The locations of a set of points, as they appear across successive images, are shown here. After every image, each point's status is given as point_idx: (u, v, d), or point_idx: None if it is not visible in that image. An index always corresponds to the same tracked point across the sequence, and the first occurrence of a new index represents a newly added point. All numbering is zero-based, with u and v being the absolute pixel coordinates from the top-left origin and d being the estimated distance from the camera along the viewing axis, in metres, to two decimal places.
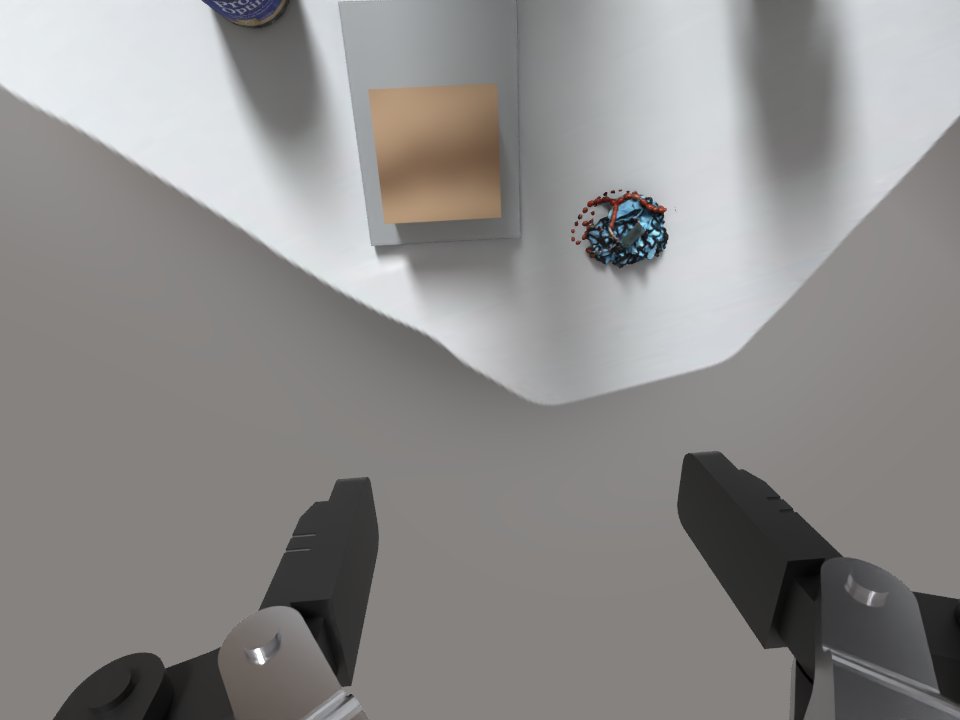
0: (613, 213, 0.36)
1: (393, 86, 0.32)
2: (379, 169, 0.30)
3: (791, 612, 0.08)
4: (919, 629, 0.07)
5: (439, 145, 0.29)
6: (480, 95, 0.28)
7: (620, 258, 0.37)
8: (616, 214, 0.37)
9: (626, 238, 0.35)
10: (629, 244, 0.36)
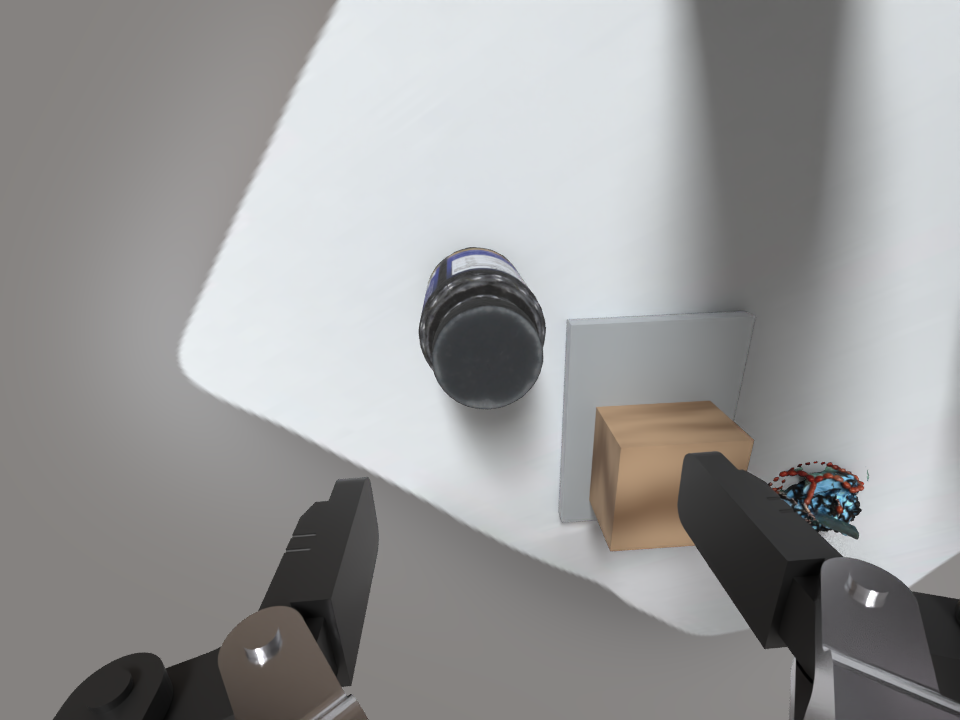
0: (811, 491, 0.35)
1: (612, 393, 0.31)
2: (616, 509, 0.28)
3: (791, 612, 0.08)
4: (919, 629, 0.07)
5: None
6: (734, 450, 0.27)
7: None
8: (813, 490, 0.35)
9: (830, 525, 0.34)
10: None
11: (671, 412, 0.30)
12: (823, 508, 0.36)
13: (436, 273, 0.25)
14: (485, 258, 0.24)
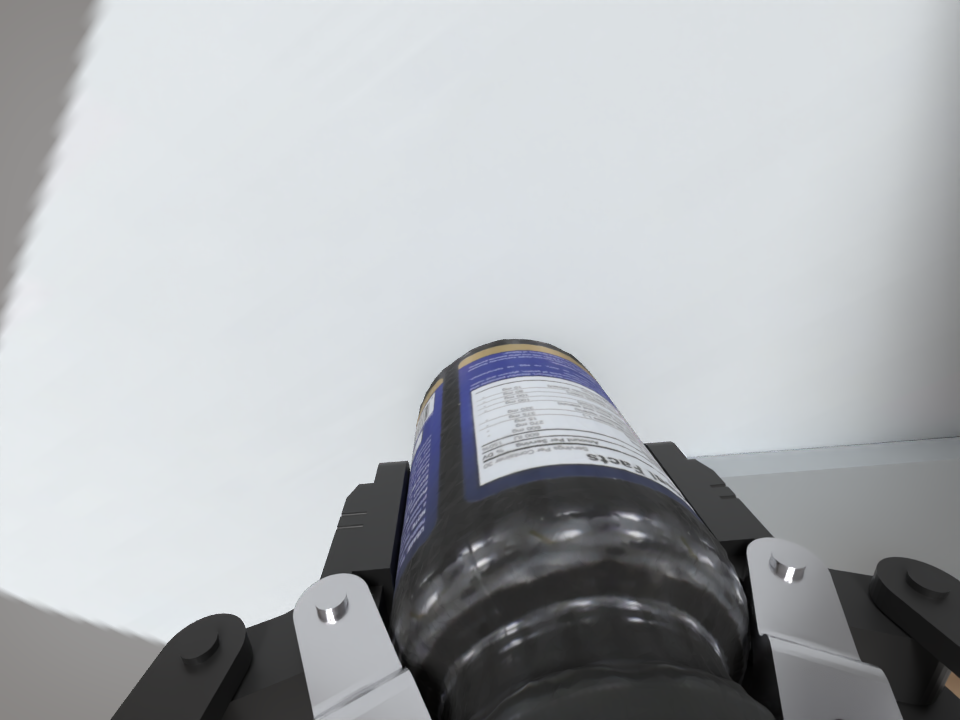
0: None
1: None
2: None
3: None
4: (828, 600, 0.07)
5: None
6: None
7: None
8: None
9: None
10: None
11: None
12: None
13: (436, 414, 0.11)
14: (553, 395, 0.10)
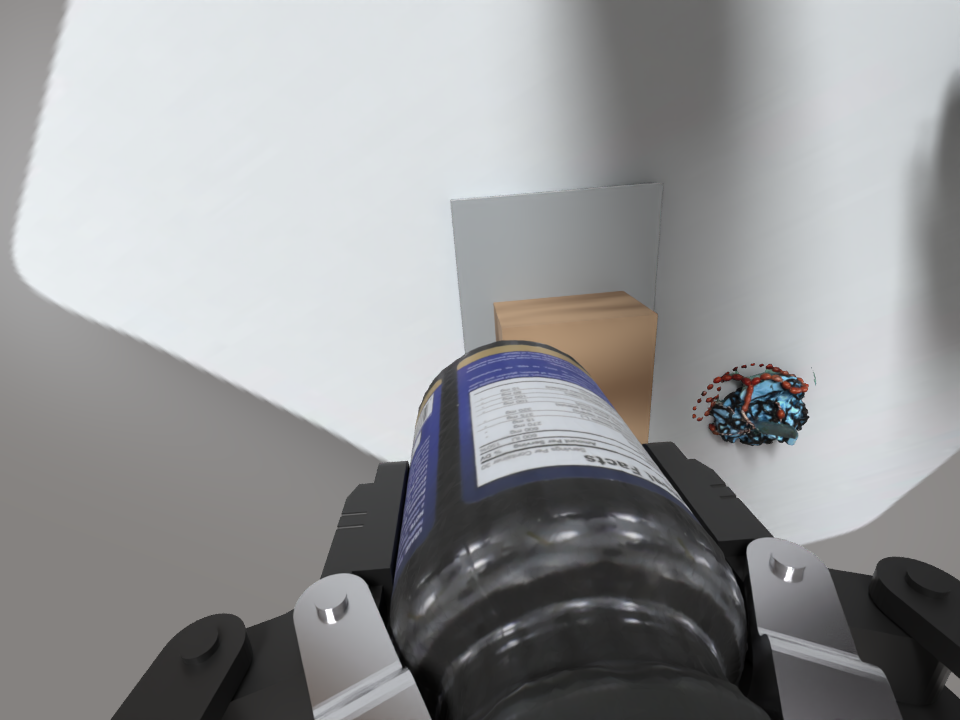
0: (747, 395, 0.31)
1: (510, 285, 0.27)
2: None
3: None
4: (827, 601, 0.07)
5: None
6: (636, 327, 0.23)
7: (753, 441, 0.32)
8: (750, 395, 0.31)
9: (769, 431, 0.30)
10: (769, 434, 0.31)
11: (575, 301, 0.26)
12: (764, 416, 0.32)
13: (434, 415, 0.11)
14: (551, 396, 0.10)
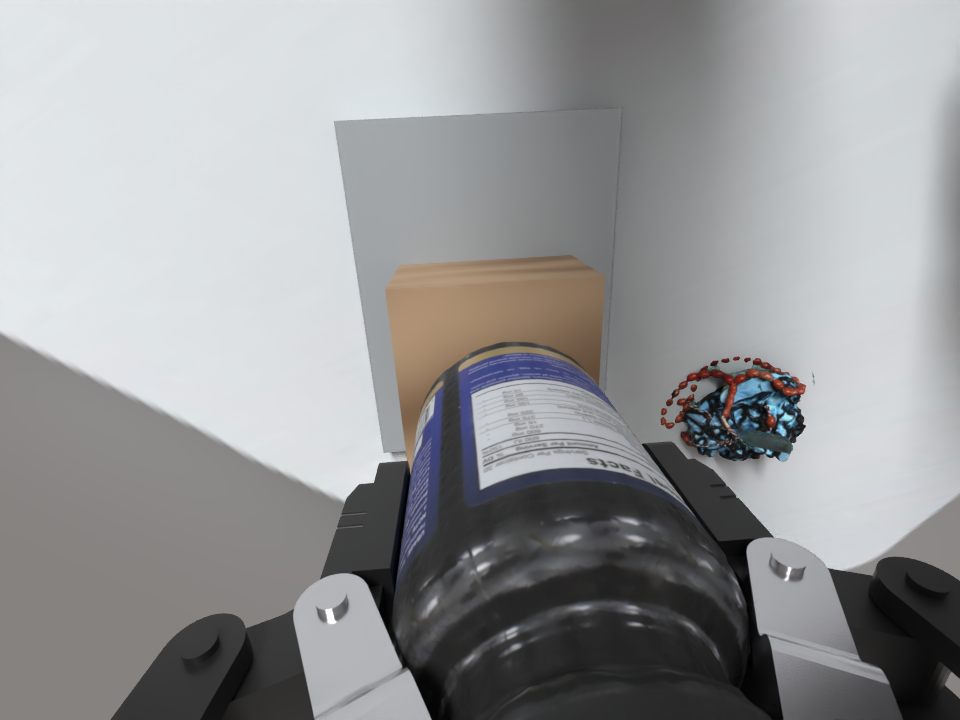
0: (729, 397, 0.24)
1: (421, 242, 0.21)
2: (402, 402, 0.18)
3: None
4: (827, 600, 0.07)
5: None
6: (576, 294, 0.17)
7: (735, 455, 0.25)
8: (733, 396, 0.25)
9: (755, 443, 0.23)
10: (756, 446, 0.24)
11: (503, 264, 0.20)
12: (749, 424, 0.25)
13: (436, 417, 0.11)
14: (553, 398, 0.10)
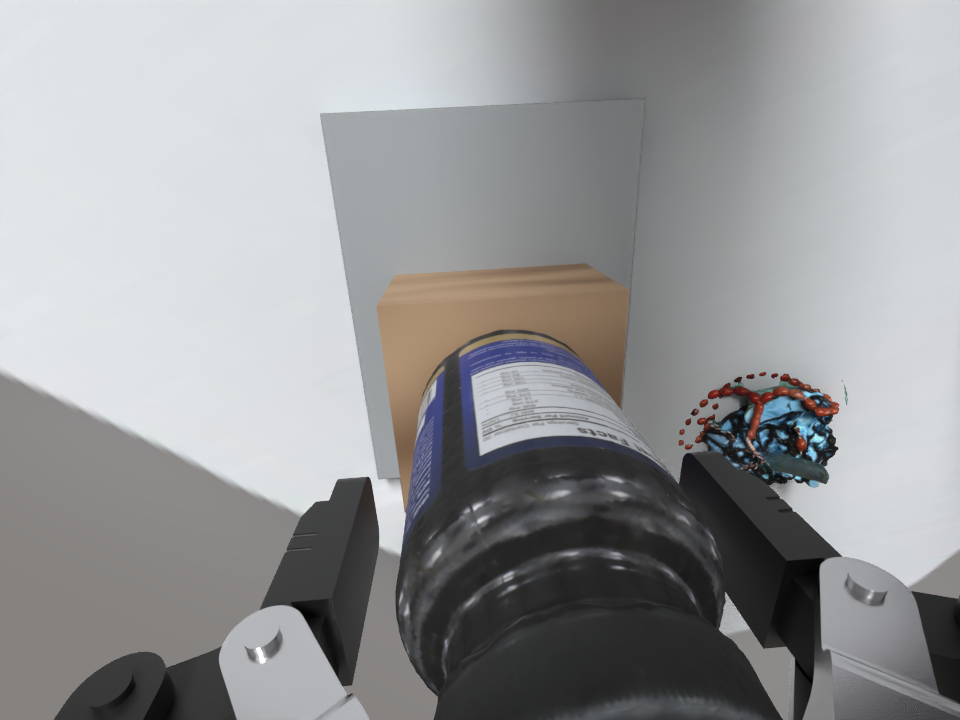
0: (755, 417, 0.22)
1: (418, 250, 0.18)
2: (396, 433, 0.16)
3: (790, 612, 0.08)
4: (918, 628, 0.07)
5: None
6: (596, 311, 0.15)
7: None
8: (759, 416, 0.22)
9: (785, 469, 0.21)
10: (784, 472, 0.22)
11: (511, 274, 0.18)
12: (777, 446, 0.23)
13: (438, 398, 0.12)
14: (547, 378, 0.11)
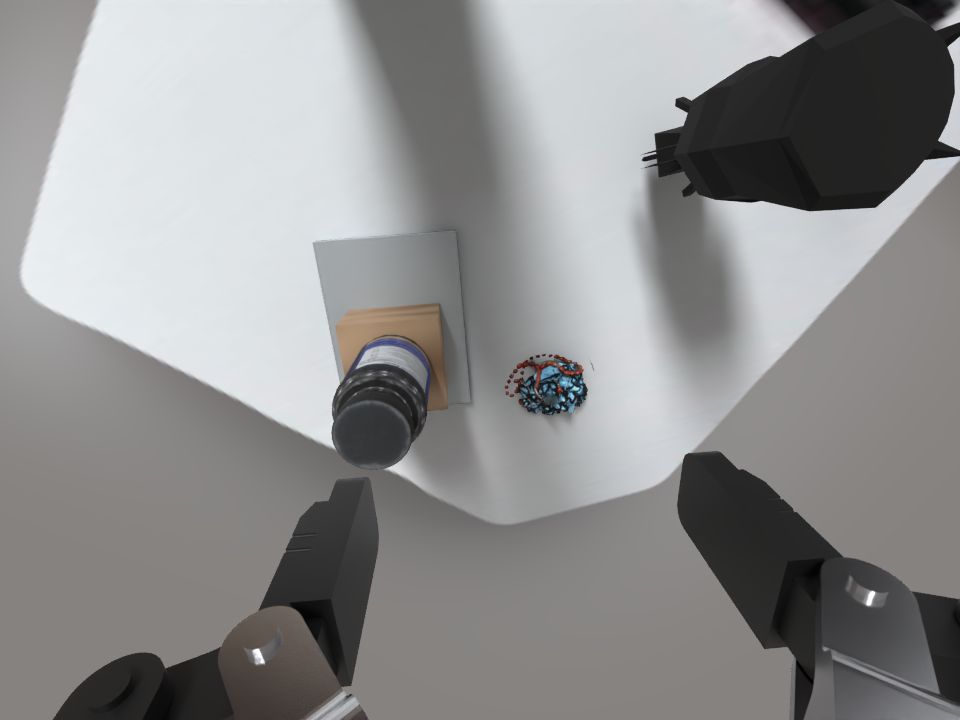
0: (537, 376, 0.43)
1: (359, 298, 0.40)
2: None
3: (791, 612, 0.08)
4: (919, 629, 0.07)
5: None
6: (425, 326, 0.36)
7: (546, 410, 0.44)
8: (540, 376, 0.43)
9: (547, 401, 0.42)
10: (550, 404, 0.43)
11: (400, 309, 0.39)
12: (552, 392, 0.44)
13: (355, 359, 0.33)
14: (387, 350, 0.32)
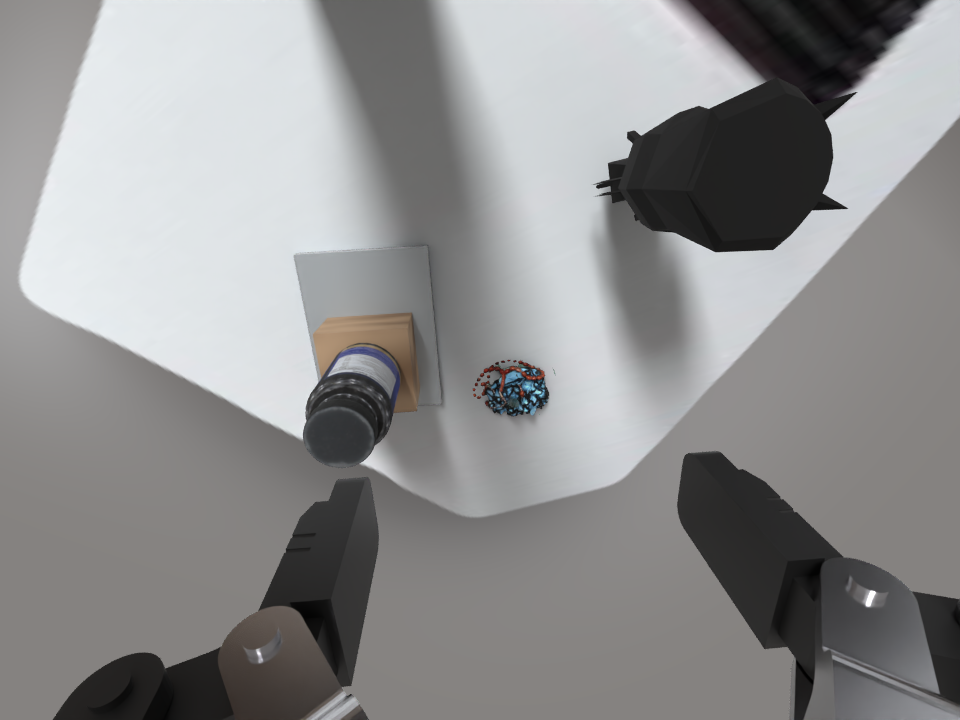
0: (502, 380, 0.47)
1: (337, 307, 0.43)
2: None
3: (791, 612, 0.08)
4: (919, 629, 0.07)
5: None
6: (395, 336, 0.39)
7: (509, 412, 0.47)
8: (504, 380, 0.47)
9: (509, 404, 0.45)
10: None
11: (374, 318, 0.42)
12: (515, 395, 0.47)
13: (329, 366, 0.36)
14: (358, 358, 0.35)
